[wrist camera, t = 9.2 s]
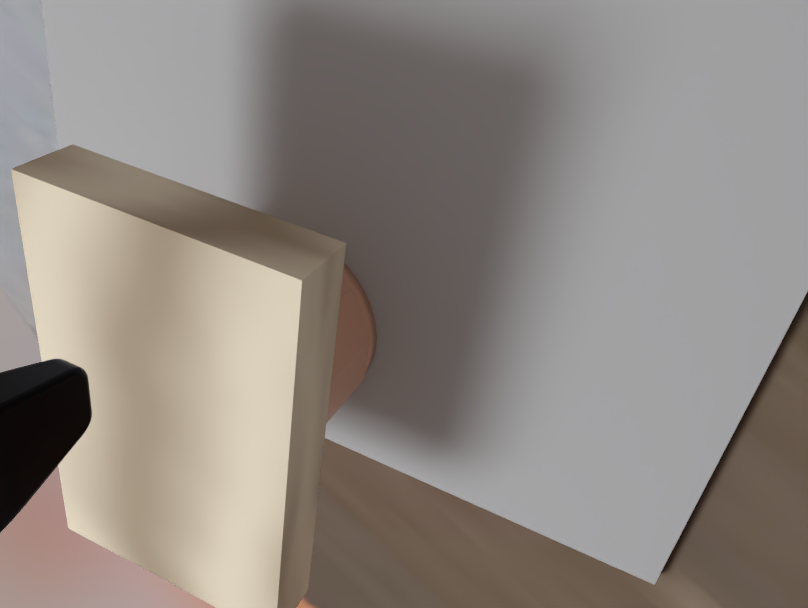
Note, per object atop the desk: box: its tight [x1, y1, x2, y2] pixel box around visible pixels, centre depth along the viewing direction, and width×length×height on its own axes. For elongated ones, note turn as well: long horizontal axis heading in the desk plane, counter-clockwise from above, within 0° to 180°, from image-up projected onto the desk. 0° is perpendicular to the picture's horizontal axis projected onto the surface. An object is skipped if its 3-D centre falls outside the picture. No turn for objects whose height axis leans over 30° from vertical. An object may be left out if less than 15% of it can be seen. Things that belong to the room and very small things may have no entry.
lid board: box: [11, 144, 346, 608], centre depth 20 cm, size 7×12×2 cm, turn 171°
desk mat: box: [41, 0, 808, 585], centre depth 20 cm, size 22×23×1 cm
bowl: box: [326, 263, 377, 423], centre depth 23 cm, size 6×6×4 cm
